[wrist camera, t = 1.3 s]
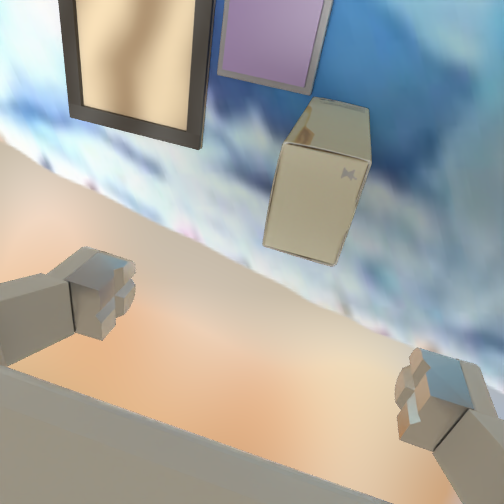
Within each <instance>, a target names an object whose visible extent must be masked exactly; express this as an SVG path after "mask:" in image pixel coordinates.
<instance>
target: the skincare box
mask: <svg viewBox="0 0 504 504" xmlns="http://www.w3.org/2000/svg"><path fill="white" fill-rule="evenodd" d="M371 163H372V160H371V139H370V122H369V109H368V108H364V107H361V106H357V105H353V104H349V103H344V102H340V101H336V100H331V99H325V98H320V97H313V98H312V100H311V101H310V103H309V104H308V106H307V108H306V109H305V111H304V112H303V114H302V115H301V117H300V118H299V120H298V121H297V123H296V125H295V126H294V128H293V129H292V131H291V132H290V134H289V135H288V137H287V138H286V140H285V141H284V142H283V144H282V147H281V151H280V155H279V159H278V163H277V167H276V171H275V175H274V180H273V185H272V190H271V195H270V201H269V206H268V212H267V218H266V224H265V230H264V237H263V246H264V247H268V248H271V249H275V250H277V251H280V252H284V253H287V254H290V255H293V256H297V257H300V258H304V259H307V260H310V261H313V262H317V263H320V264H324V265H327V266H335V265H336V264H337V262H338V259H339V256H340V253H341V251H342V248H343V245H344V242H345V239H346V237H347V234H348V231H349V228H350V225H351V222H352V220H353V217H354V214H355V211H356V208H357V205H358V202H359V199H360V196H361V193H362V190H363V187H364V184H365V182H366V178H367V175H368V172H369V169H370V167H371Z"/></svg>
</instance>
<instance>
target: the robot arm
mask: <svg viewBox="0 0 504 504" xmlns="http://www.w3.org/2000/svg"><path fill="white" fill-rule="evenodd" d="M134 274H135V263H134V262H133V261H131V260H127V259H124V258H121V257H118V256H116V255H112V254H109V253H107V252H103V251H100V250H96V249H93V248H90V247H82V248H80V249H79V250H78V251H76V252H75V253H74V254H72V255H71V256H70V257H68V258H67V259H66V260H65V261H63V262H62V263H61V264H59V265H58V266H57V267H56V268H54V269H53V270H51V271H50V272H49V273H47V274H46V275H45V274H42V273H40V274H36V275H32V276H28V277H24V278H20V279H16V280H12V281H8V282H4V283H0V504H392V503H390V502H387V501H384V500H381V499H378V498H375V497H372V496H370V495H367V494H364V493H361V492H358V491H356V490H353V489H350V488H347V487H344V486H341V485H339V484H336V483H333V482H330V481H327V480H324V479H321V478H318V477H316V476H313V475H310V474H307V473H304V472H302V471H298V470H296V469H293V468H290V467H287V466H284V465H282V464H279V463H276V462H273V461H270V460H268V459H265V458H262V457H259V456H256V455H253V454H251V453H248V452H245V451H242V450H239V449H237V448H234V447H231V446H228V445H225V444H222V443H219V442H217V441H214V440H211V439H208V438H205V437H203V436H200V435H197V434H194V433H191V432H188V431H186V430H183V429H180V428H177V427H175V426H172V425H169V424H166V423H163V422H160V421H158V420H155V419H152V418H149V417H146V416H143V415H140V414H138V413H135V412H132V411H129V410H127V409H124V408H121V407H118V406H115V405H112V404H109V403H107V402H104V401H101V400H98V399H95V398H92V397H90V396H87V395H84V394H81V393H78V392H76V391H73V390H70V389H67V388H64V387H61V386H58V385H56V384H53V383H50V382H47V381H44V380H42V379H39V378H36V377H33V376H30V375H28V374H25V373H22V372H19V371H16V370H13V369H10V368H8V367H7V366H9V365H11V364H13V363H16V362H18V361H20V360H22V359H24V358H26V357H28V356H30V355H32V354H34V353H36V352H38V351H40V350H42V349H44V348H46V347H48V346H50V345H52V344H54V343H57V342H58V341H61V340H63V339H65V338H67V337H69V336H71V335H73V334H74V332H75V333H78V334H82V335H85V336H88V337H92V338H95V339H99V340H102V341H103V339H104V338H105V337H106V336H107V335H108V333H109V332H110V331H111V330H112V329H113V328H114V326H115V325H116V318H117V317H120V316H122V315H124V314H125V313H126V312H127V310H128V309H129V308H130V306H131V304H132V302H133V300H134V296H135V284H134V282H133V281H132V279H131V278H132V276H133V275H134ZM409 359H410V365H409V366H407V367H404V368H402V370H401V372H400V374H399V376H398V378H397V382H396V385H395V402H396V404H397V405H398V406H399V408H400V409H401V411H400V413H399V414H398V416H397V421H398V432H399V439H400V440H401V441H404V442H407V443H410V444H412V445H415V446H418V447H421V448H423V449H427V450H429V451H432V452H433V455H434V457H435V459H436V460H437V462H438V464H439V465H440V467H441V469H442V470H443V472H444V474H445V475H446V477H447V479H448V480H449V482H450V483H451V485H452V487H453V488H454V490H455V492H456V493H457V495H458V497H459V498H460V500H461V502H462V503H463V504H504V420H502V419H499V418H498V416H497V413H496V410H495V408H494V405H493V402H492V400H491V397H490V394H489V392H488V389H487V386H486V383H485V381H484V378H483V375H482V373H481V370H480V368H479V367H478V366H477V365H476V364H474V363H470V362H466V361H463V360H459V359H454V358H451V357H447V356H444V355H441V354H437V353H434V352H431V351H427V350H424V349H421V348H416V349H415V350H414V351H413V352H412V353H411V355H410V357H409Z"/></svg>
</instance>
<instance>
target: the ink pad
mask: <svg viewBox="0 0 504 504" xmlns="http://www.w3.org/2000/svg"><path fill="white" fill-rule="evenodd" d="M333 2H334V0H225V4H224V13H223V23H222V32H221V42H220V51H219V61H218V70H217V75H221V76H225V77H230V78H234V79H238V80H243V81H247V82H252V83H256V84H261V85H265V86H269V87H274V88H278V89H283V90H287V91H292V92H296V93H300V94H305V95H309V96H310V95H311V94H312V90H313V86H314V81H315V77H316V73H317V69H318V65H319V60H320V56H321V52H322V48H323V44H324V40H325V35H326V31H327V27H328V23H329V19H330V14H331V10H332V6H333Z"/></svg>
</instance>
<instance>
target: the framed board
mask: <svg viewBox="0 0 504 504" xmlns="http://www.w3.org/2000/svg"><path fill="white" fill-rule="evenodd" d="M215 1H216V0H58V3H59V13H60V23H61V33H62V43H63V53H64V63H65V73H66V83H67V93H68V103H69V113H70V117H71V118H75V119H79V120H83V121H87V122H91V123H94V124H98V125H102V126H106V127H110V128H114V129H118V130H122V131H126V132H130V133H134V134H138V135H142V136H146V137H149V138H153V139H157V140H161V141H165V142H169V143H173V144H177V145H181V146H185V147H189V148H193V149H197V150H199V149H201V148H202V140H203V129H204V118H205V108H206V97H207V86H208V76H209V65H210V54H211V44H212V33H213V22H214V11H215Z"/></svg>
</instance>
